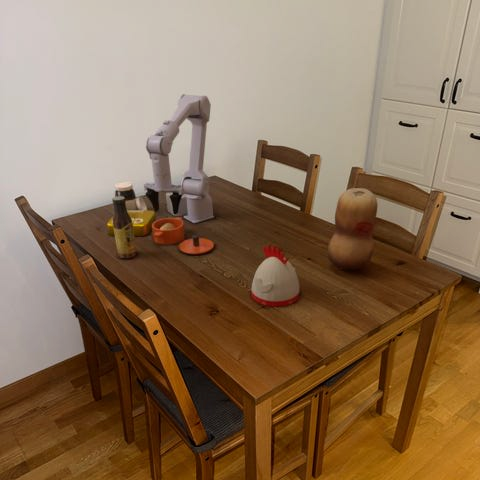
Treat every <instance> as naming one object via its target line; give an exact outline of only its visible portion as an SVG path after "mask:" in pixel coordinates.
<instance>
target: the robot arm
mask: <svg viewBox="0 0 480 480" xmlns="http://www.w3.org/2000/svg"><path fill="white" fill-rule="evenodd" d="M211 105H212V104H211V101H210V99H209V97H208V96H207V95H195V94H194V95H193V94H181V95H180V97H179V99H178V100H177V108H176V110H175V111H174V112H173V114H172V116H171V117H170V119H164V121H163V123H162V124H161V126H160V127H159V128H158V130H157V131H155V134H152V135H150V136H149V137H148V138H147V139H146V145H145V150H146V151H147V153H148V156H149V158H150V160H151V166H152V176H153V181H154V182H151V183H150V182H149V183H148V182H147V183H145V184H143V190H144V191H146V192H145V197H147V199H148V200H149V201H150V204H151V205H152V208H153V211H154V212H155V213H156V212H159V211H160V200H159V199H160V196H159V194H160V193H161V192H162V193H167V192H168V193H173V194H172V195H170V199H171V202H172V207H173V213H174V214H177V213H178V209H179V204H180V200H181V198H182V195H183V194H184V195H185V197H186V198H187V209H188V215H183V218H184V219H186V220H187V221H189V222H191V223H193V224H197V223H201V222H204V221H207V220H211V219H214V218H215V216H214V207H213V199H212V196H211V195H210V194H209V192H210V177H209V175H207V173H206V172H205V171H204V161H205V151H206V150H205V149H206V140H207V139H206V138H207V128H208V123H209V122H210V117H211ZM186 120H188V121H189V122H190V123H191V126H192V128H191V138H190V139H191V140H190V151H189V165H188V167H189V168H188V170H187V171H185V172H183V174H182V179H181V182H180V186H178V185H174V184H172V174H171V165H170V157H169V155H170V153H171V151H172V147H173V145H174V140H175V139H176V138H177V136H178V135H179V133H180V126H182V124H183V123H184V122H185V121H186Z"/></svg>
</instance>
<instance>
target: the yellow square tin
mask: <svg viewBox="0 0 480 480" xmlns="http://www.w3.org/2000/svg"><path fill="white" fill-rule="evenodd" d="M127 212H128V214H129V216H130V218H131V220H132V223H133V231H134V237H145V236H147V235H149V234H150V232H151V231H152V224H153V223H154V222H155V221H157V219H156V212H155V211H154V210H148V209H147V210H139V209H138V210H127ZM106 225H107V229H108V230H107V231H108V234H109V235H110V236H115V234H114V228H113V216H112V217H111V218H110V219H109V220H108V222H107V223H106Z"/></svg>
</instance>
